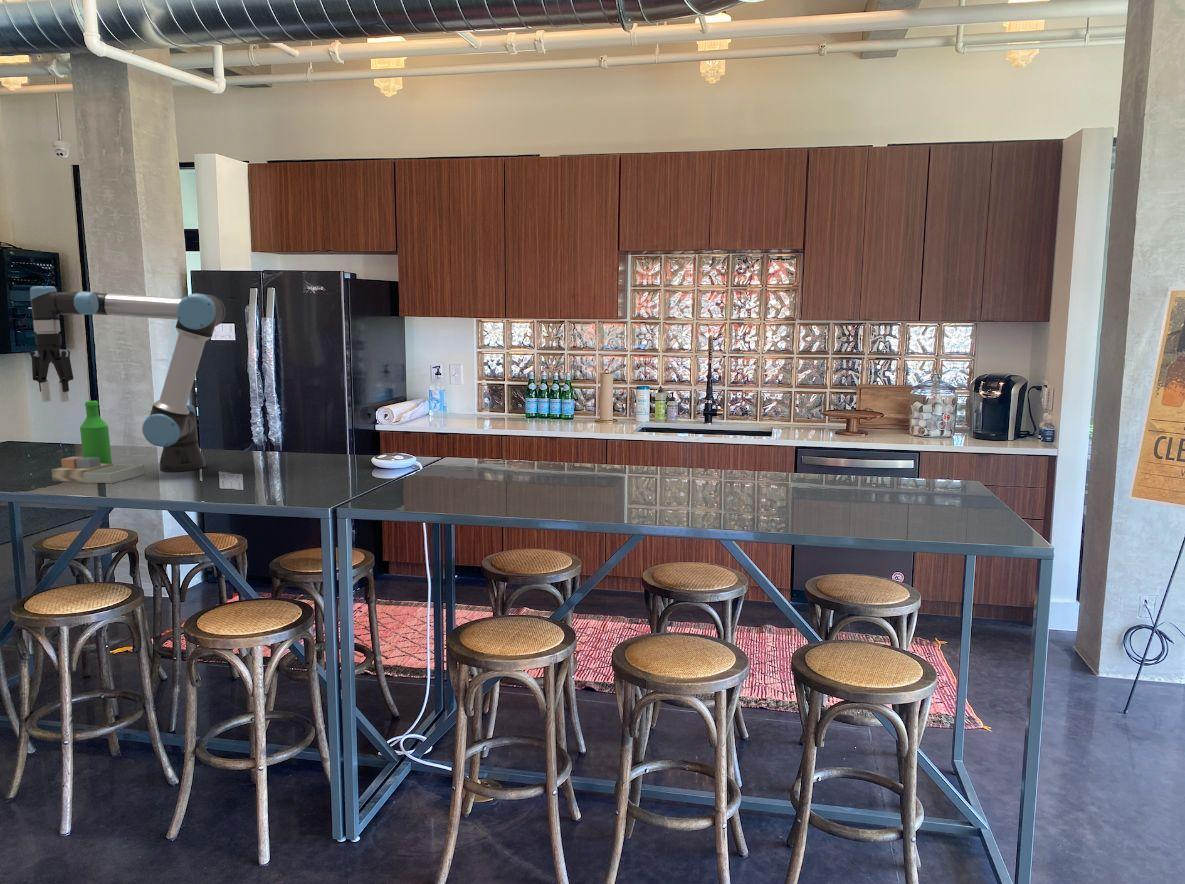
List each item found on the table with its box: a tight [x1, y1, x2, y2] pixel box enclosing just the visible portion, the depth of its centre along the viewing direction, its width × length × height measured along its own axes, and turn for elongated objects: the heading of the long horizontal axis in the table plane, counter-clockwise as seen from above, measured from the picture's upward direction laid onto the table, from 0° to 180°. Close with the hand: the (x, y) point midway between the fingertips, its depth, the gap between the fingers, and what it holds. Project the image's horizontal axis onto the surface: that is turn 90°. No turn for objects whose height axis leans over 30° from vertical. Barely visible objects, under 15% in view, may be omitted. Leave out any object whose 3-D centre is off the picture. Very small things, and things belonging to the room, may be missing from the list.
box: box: [83, 463, 146, 485], centre depth 294 cm, size 10×16×4 cm, turn 169°
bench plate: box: [51, 463, 114, 483], centre depth 297 cm, size 14×12×4 cm
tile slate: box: [76, 457, 101, 468], centre depth 296 cm, size 5×5×3 cm
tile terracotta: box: [60, 456, 85, 468], centre depth 297 cm, size 5×5×3 cm
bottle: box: [79, 400, 113, 464], centre depth 312 cm, size 9×9×25 cm
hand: (55, 401), depth 291 cm, fingers open, 6 cm apart
